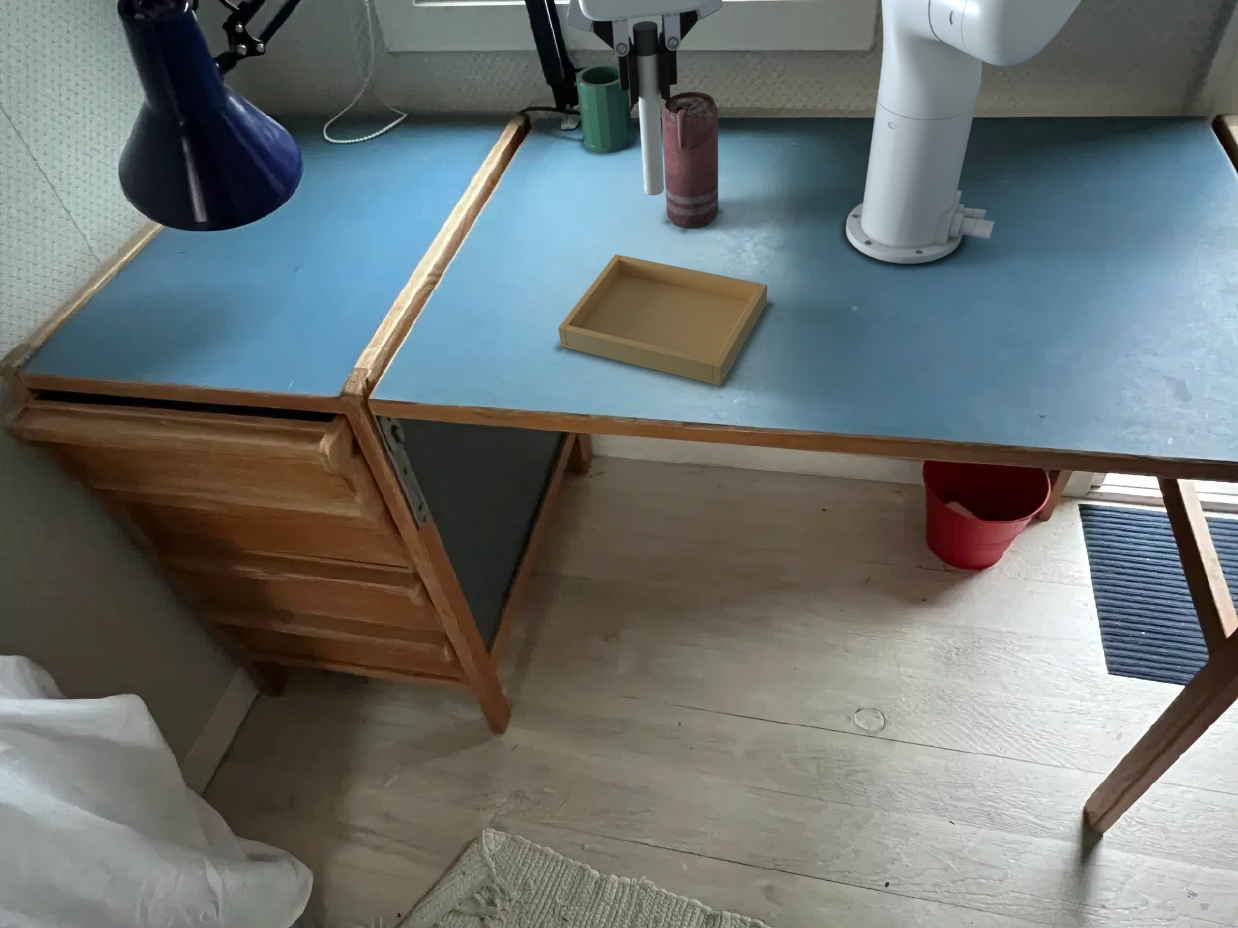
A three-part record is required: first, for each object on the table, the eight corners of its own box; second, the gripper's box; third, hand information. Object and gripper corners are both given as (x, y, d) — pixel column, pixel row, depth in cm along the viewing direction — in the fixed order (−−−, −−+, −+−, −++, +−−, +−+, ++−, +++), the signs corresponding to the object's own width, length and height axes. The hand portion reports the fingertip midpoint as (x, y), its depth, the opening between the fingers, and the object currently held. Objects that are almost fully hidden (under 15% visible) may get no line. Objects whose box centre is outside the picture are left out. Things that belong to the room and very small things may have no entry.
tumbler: (640, 132, 120) (635, 67, 113) (619, 156, 116) (613, 89, 109) (597, 126, 122) (590, 61, 116) (576, 149, 118) (567, 83, 112)
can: (662, 230, 103) (655, 116, 93) (672, 201, 107) (667, 88, 97) (713, 233, 102) (712, 117, 92) (721, 203, 106) (721, 90, 96)
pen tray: (766, 304, 92) (767, 284, 90) (720, 386, 84) (720, 366, 83) (616, 272, 98) (614, 254, 97) (560, 346, 90) (557, 327, 89)
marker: (668, 186, 80) (661, 22, 70) (659, 198, 79) (651, 32, 69) (648, 183, 81) (638, 20, 70) (639, 194, 80) (628, 29, 69)
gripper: (519, -140, 58) (556, 127, 71) (759, -168, 57) (750, 104, 71) (519, -167, 63) (554, 87, 76) (739, -193, 63) (735, 66, 76)
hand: (648, 93), depth 73 cm, fingers closed on marker, 2 cm apart
